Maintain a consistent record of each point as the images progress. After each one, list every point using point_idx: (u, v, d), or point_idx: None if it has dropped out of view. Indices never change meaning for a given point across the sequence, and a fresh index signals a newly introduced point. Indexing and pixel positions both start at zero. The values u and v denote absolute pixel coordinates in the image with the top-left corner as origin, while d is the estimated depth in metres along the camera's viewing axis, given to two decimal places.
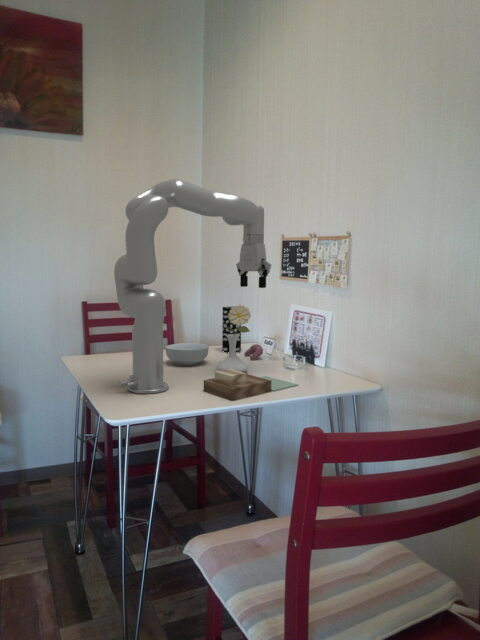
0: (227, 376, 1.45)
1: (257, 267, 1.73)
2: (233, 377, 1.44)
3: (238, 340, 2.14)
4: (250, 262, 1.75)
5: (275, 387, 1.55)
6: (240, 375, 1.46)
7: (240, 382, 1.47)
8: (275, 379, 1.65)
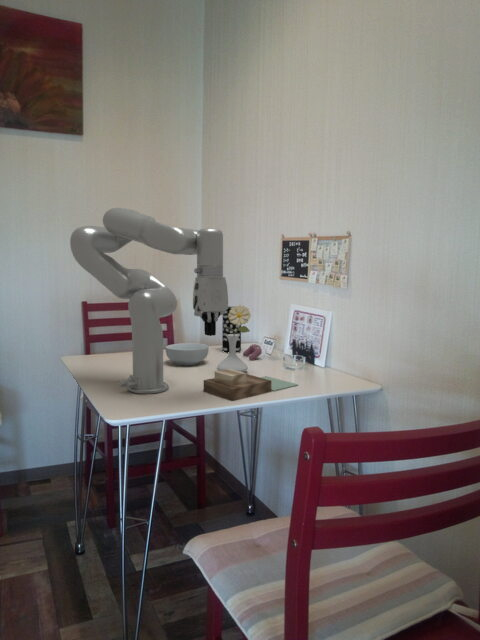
0: (227, 376, 1.45)
1: (227, 305, 1.42)
2: (233, 377, 1.44)
3: (238, 340, 2.14)
4: (219, 300, 1.40)
5: (275, 387, 1.55)
6: (240, 375, 1.46)
7: (240, 382, 1.47)
8: (275, 379, 1.65)
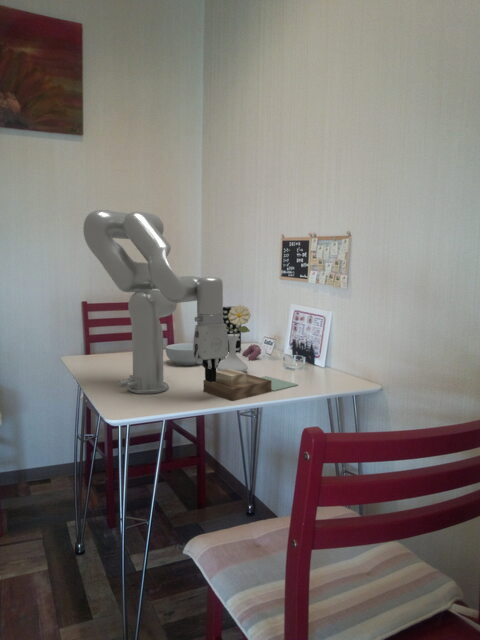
0: (227, 376, 1.45)
1: None
2: (233, 377, 1.44)
3: (238, 340, 2.14)
4: (220, 347, 1.41)
5: (275, 387, 1.55)
6: (240, 375, 1.46)
7: (240, 382, 1.47)
8: (275, 379, 1.65)
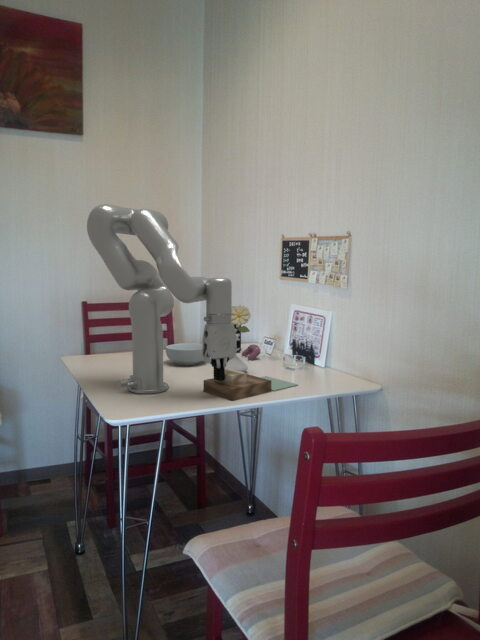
0: (227, 376, 1.45)
1: (236, 351, 1.46)
2: (233, 377, 1.44)
3: (238, 340, 2.14)
4: (228, 346, 1.43)
5: (275, 387, 1.55)
6: (240, 375, 1.46)
7: (240, 382, 1.47)
8: (275, 379, 1.65)
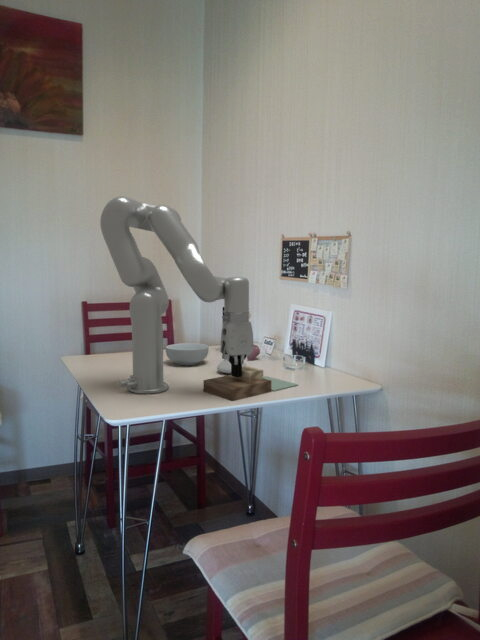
0: (245, 373, 1.50)
1: None
2: (250, 374, 1.49)
3: None
4: (245, 344, 1.48)
5: (275, 387, 1.55)
6: (257, 372, 1.51)
7: (257, 379, 1.51)
8: (275, 379, 1.65)
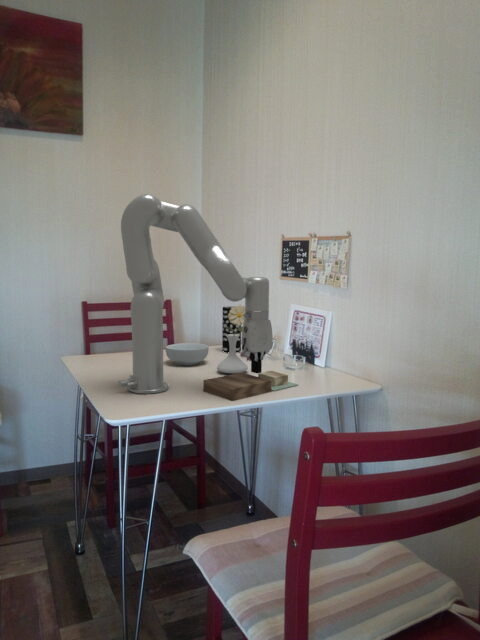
0: None
1: (272, 345, 1.56)
2: (286, 382, 1.59)
3: (238, 340, 2.14)
4: (265, 341, 1.54)
5: (275, 387, 1.55)
6: (280, 384, 1.57)
7: (280, 378, 1.57)
8: None
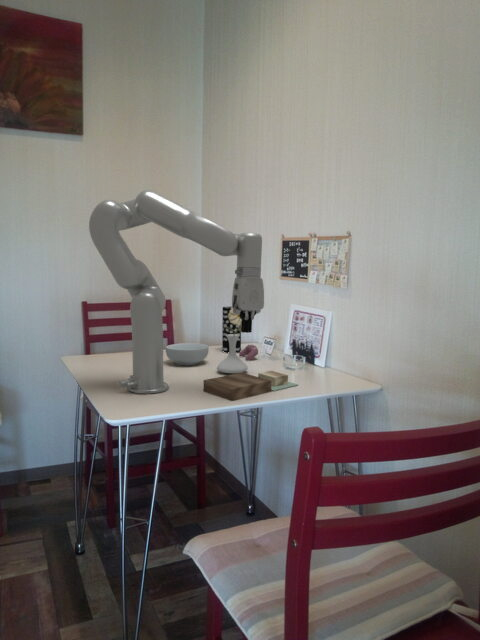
0: None
1: (263, 305, 1.52)
2: (286, 382, 1.59)
3: (238, 340, 2.14)
4: (257, 300, 1.50)
5: (275, 387, 1.55)
6: (280, 384, 1.57)
7: (280, 378, 1.57)
8: None
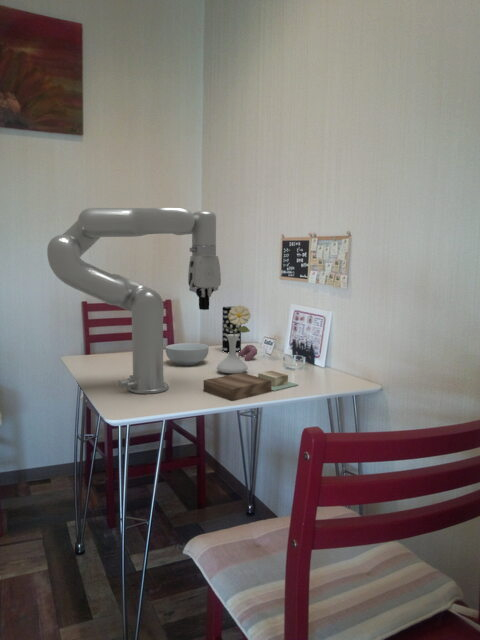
0: None
1: (220, 282, 1.55)
2: (286, 382, 1.59)
3: (238, 340, 2.14)
4: (212, 277, 1.52)
5: (275, 387, 1.55)
6: (280, 384, 1.57)
7: (280, 378, 1.57)
8: None
